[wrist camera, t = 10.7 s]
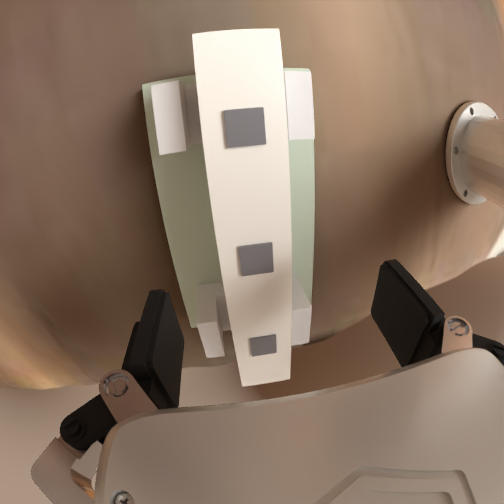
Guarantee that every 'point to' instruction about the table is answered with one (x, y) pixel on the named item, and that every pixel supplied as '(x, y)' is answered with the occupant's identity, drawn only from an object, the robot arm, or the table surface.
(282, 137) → the power strip
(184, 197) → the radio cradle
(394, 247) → the table surface
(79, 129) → the table surface
